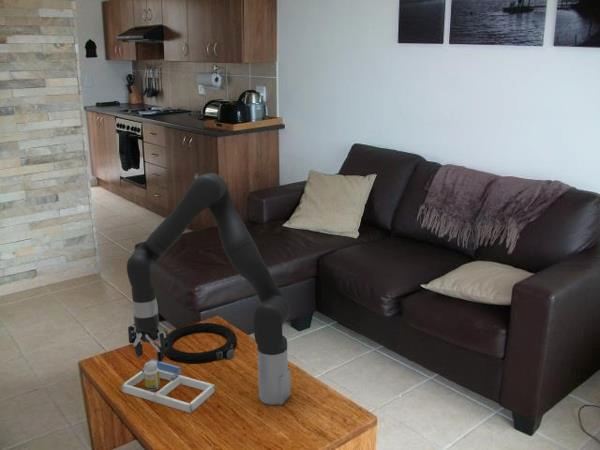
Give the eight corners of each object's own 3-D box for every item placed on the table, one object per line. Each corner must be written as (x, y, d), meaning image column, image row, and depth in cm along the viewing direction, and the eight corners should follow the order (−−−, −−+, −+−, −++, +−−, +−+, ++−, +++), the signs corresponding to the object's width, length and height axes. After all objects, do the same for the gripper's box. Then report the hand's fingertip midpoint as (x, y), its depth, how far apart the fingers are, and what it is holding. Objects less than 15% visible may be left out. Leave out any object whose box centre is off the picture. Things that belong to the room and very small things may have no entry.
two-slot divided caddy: (216, 390, 189) (215, 376, 187) (190, 413, 177) (189, 398, 175) (150, 371, 200) (149, 358, 199) (122, 391, 188) (120, 378, 187)
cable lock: (200, 315, 236) (256, 335, 218) (201, 323, 237) (257, 344, 219) (145, 340, 215) (202, 365, 197) (146, 350, 216) (203, 375, 198)
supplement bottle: (154, 381, 194) (152, 358, 192) (163, 386, 191) (161, 363, 189) (142, 387, 191) (140, 364, 188) (151, 392, 188) (149, 369, 185)
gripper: (171, 311, 183) (175, 357, 188) (135, 303, 189) (140, 348, 194) (155, 320, 177) (160, 368, 181) (119, 312, 183) (125, 359, 187)
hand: (150, 358), depth 188 cm, fingers open, 8 cm apart
